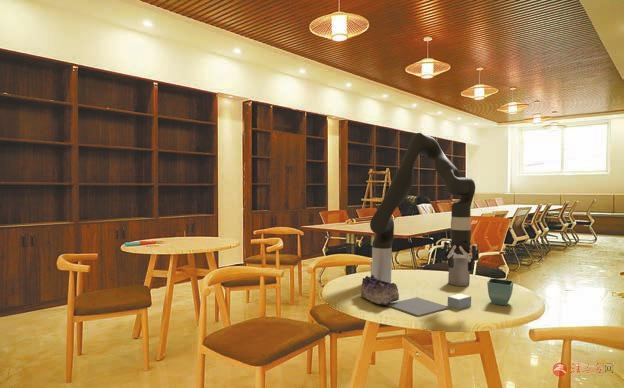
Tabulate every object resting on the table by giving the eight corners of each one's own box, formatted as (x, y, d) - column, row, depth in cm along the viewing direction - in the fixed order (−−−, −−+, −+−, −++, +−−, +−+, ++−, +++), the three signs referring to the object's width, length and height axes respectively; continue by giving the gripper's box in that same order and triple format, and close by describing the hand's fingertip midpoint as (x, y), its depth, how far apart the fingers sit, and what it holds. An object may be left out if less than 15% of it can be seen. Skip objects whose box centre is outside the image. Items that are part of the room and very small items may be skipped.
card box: (447, 306, 158) (447, 296, 158) (459, 303, 163) (460, 293, 163) (458, 309, 154) (458, 299, 154) (471, 306, 159) (471, 296, 158)
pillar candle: (453, 280, 201) (454, 250, 201) (473, 284, 194) (473, 253, 194) (444, 283, 194) (445, 252, 194) (464, 287, 187) (464, 255, 187)
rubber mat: (386, 305, 158) (386, 304, 158) (417, 298, 168) (417, 297, 168) (418, 316, 145) (418, 315, 145) (449, 308, 155) (449, 306, 155)
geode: (350, 296, 170) (352, 272, 171) (372, 297, 176) (374, 273, 177) (379, 306, 152) (381, 279, 153) (403, 306, 158) (404, 280, 159)
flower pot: (511, 308, 156) (511, 285, 156) (486, 304, 161) (487, 282, 161) (513, 302, 164) (513, 280, 163) (489, 299, 168) (490, 277, 168)
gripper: (483, 229, 154) (482, 271, 154) (451, 226, 166) (450, 265, 166) (471, 230, 150) (471, 273, 150) (439, 227, 161) (439, 267, 162)
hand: (460, 269), depth 158 cm, fingers open, 8 cm apart
